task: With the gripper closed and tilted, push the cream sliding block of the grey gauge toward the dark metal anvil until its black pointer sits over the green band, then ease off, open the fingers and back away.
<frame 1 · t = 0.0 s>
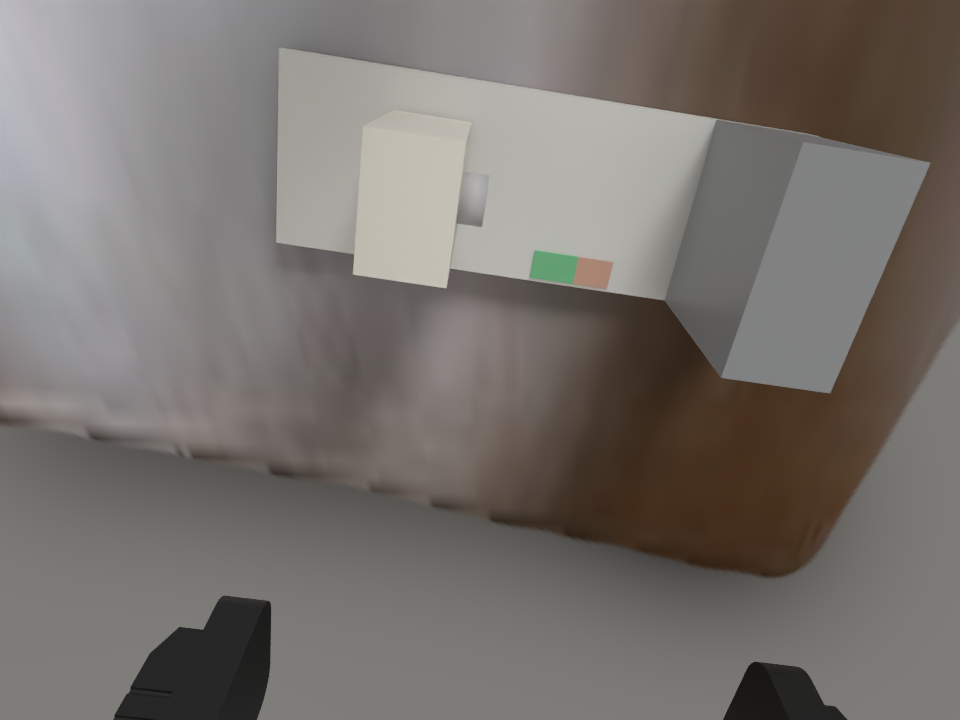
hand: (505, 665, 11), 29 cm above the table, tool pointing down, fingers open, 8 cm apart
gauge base: (535, 186, 36), on the table
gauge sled: (428, 214, 30), point 6 cm above the table, slide at 0.0 cm
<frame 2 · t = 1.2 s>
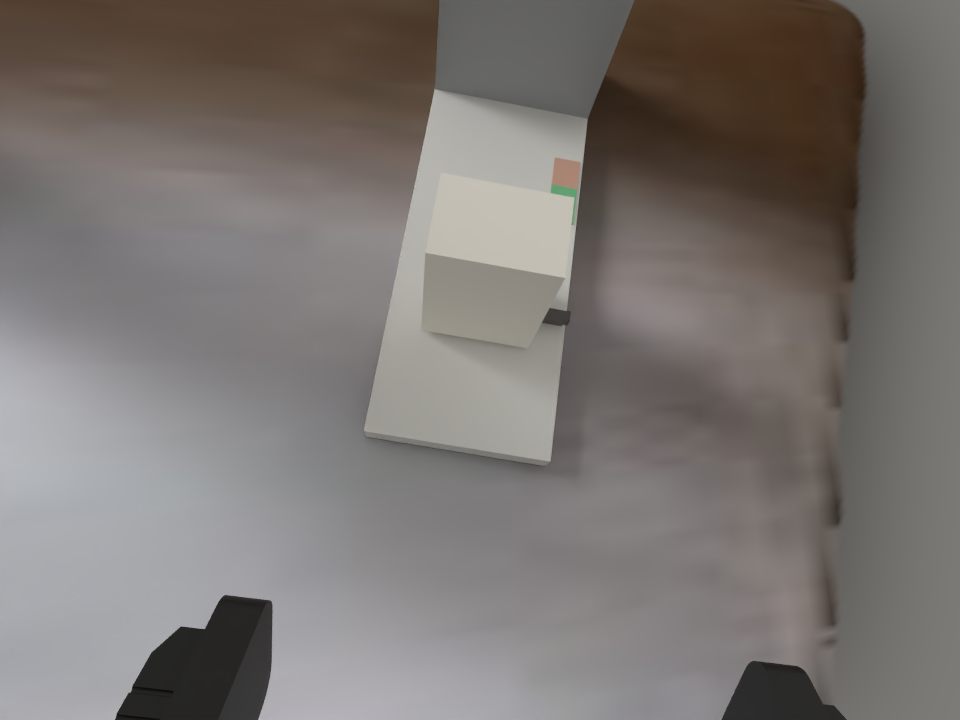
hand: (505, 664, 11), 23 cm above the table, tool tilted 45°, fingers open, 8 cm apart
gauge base: (490, 230, 40), on the table
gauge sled: (510, 263, 32), point 6 cm above the table, slide at 0.0 cm
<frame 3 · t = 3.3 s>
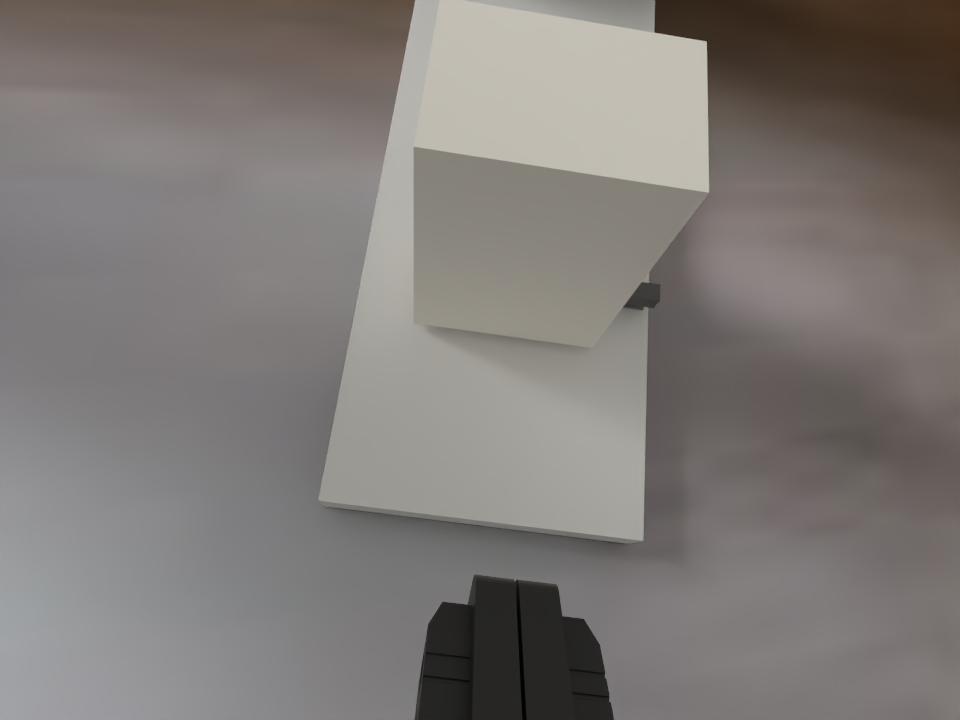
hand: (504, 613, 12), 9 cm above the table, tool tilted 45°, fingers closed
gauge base: (516, 168, 26), on the table
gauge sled: (568, 196, 18), point 6 cm above the table, slide at 0.0 cm
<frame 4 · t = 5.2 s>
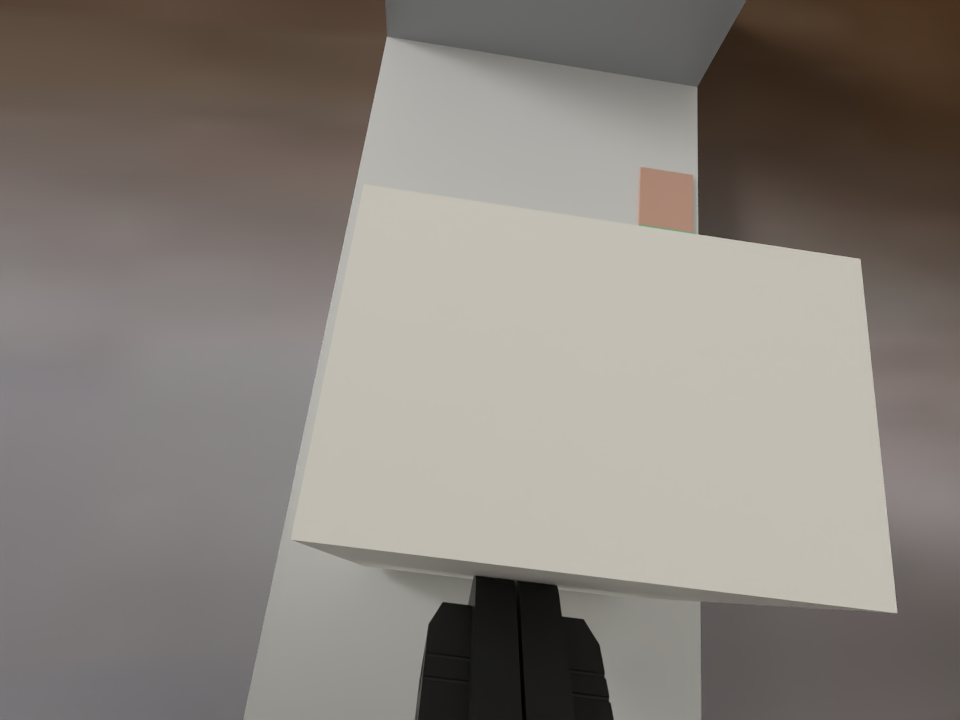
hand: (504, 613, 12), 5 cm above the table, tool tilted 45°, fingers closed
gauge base: (512, 324, 19), on the table
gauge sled: (594, 433, 11), point 6 cm above the table, slide at 0.8 cm, touching gripper
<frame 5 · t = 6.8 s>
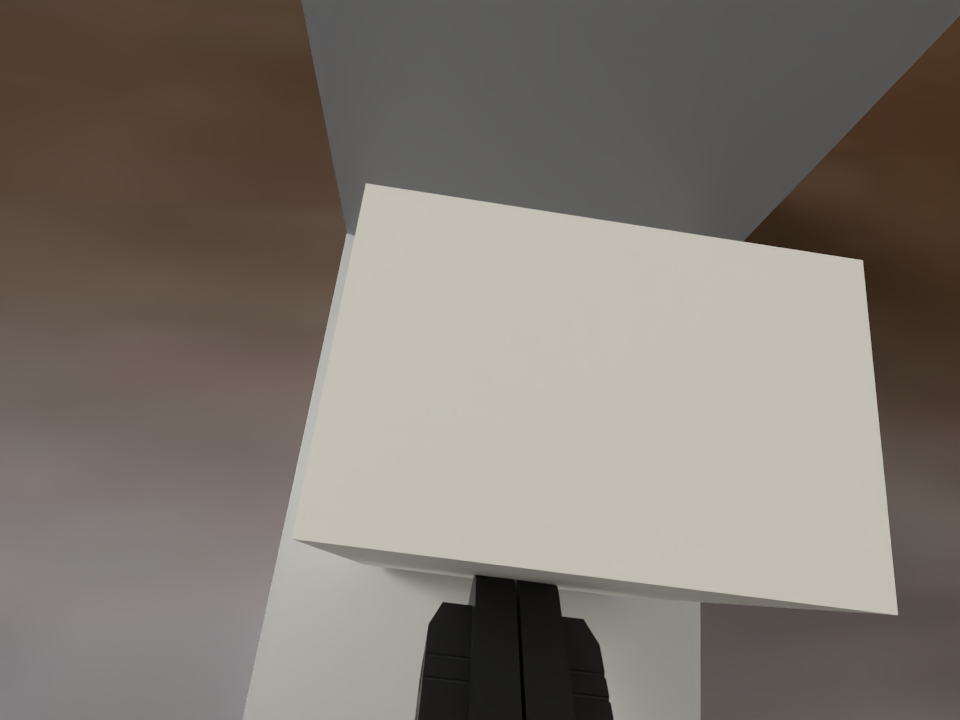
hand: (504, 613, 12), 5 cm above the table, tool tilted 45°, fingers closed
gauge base: (486, 580, 16), on the table
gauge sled: (595, 433, 11), point 6 cm above the table, slide at 8.0 cm, touching gripper
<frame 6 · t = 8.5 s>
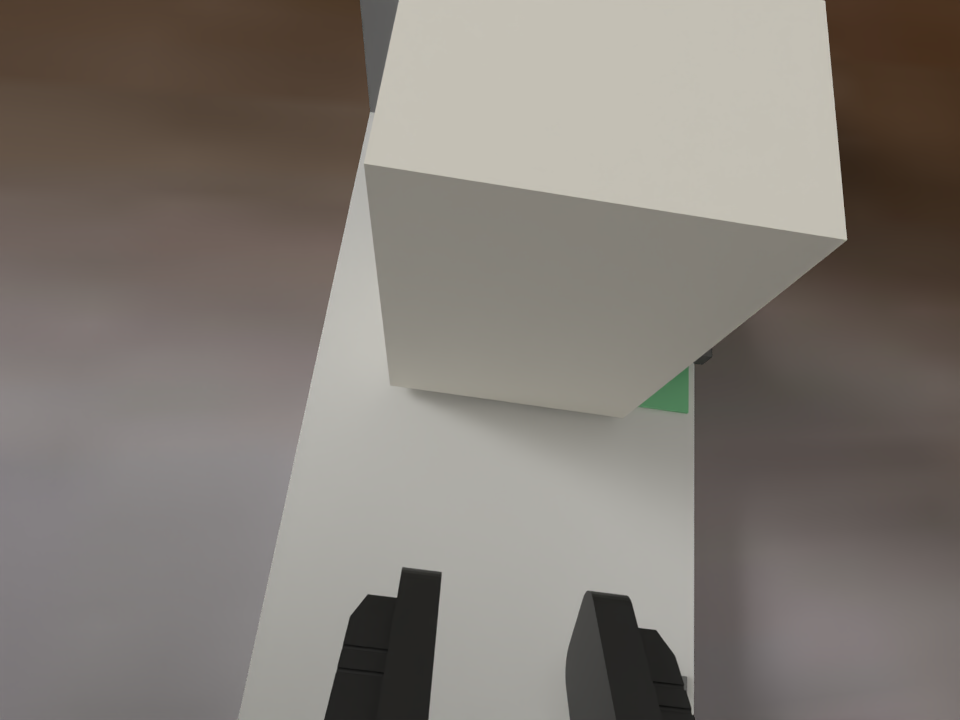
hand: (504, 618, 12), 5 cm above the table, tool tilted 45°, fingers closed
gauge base: (498, 420, 18), on the table
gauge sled: (600, 226, 13), point 6 cm above the table, slide at 8.0 cm
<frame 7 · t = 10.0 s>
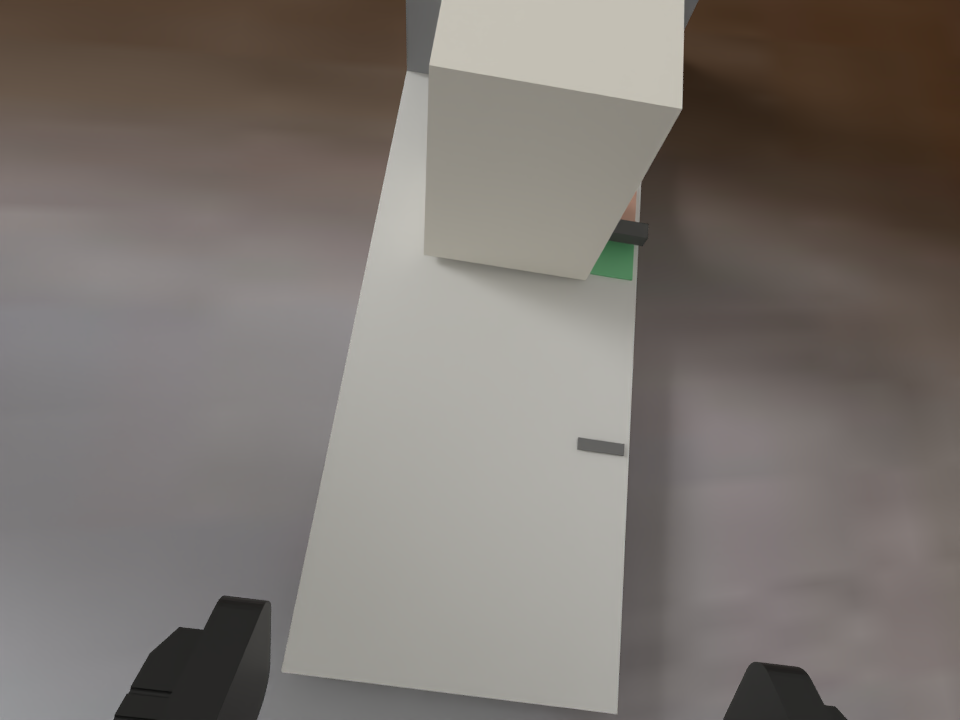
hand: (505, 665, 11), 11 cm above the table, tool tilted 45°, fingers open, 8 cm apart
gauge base: (499, 290, 25), on the table
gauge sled: (565, 132, 20), point 6 cm above the table, slide at 8.0 cm
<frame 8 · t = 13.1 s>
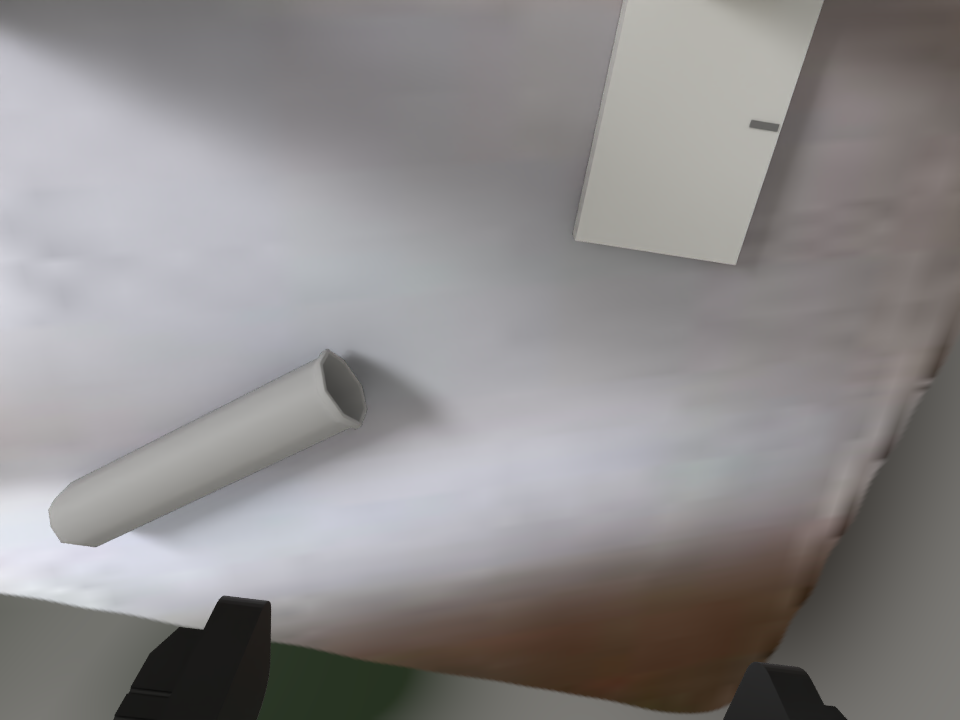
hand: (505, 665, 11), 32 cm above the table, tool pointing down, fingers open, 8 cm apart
tube: (211, 440, 47), on the table
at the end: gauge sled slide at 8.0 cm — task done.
